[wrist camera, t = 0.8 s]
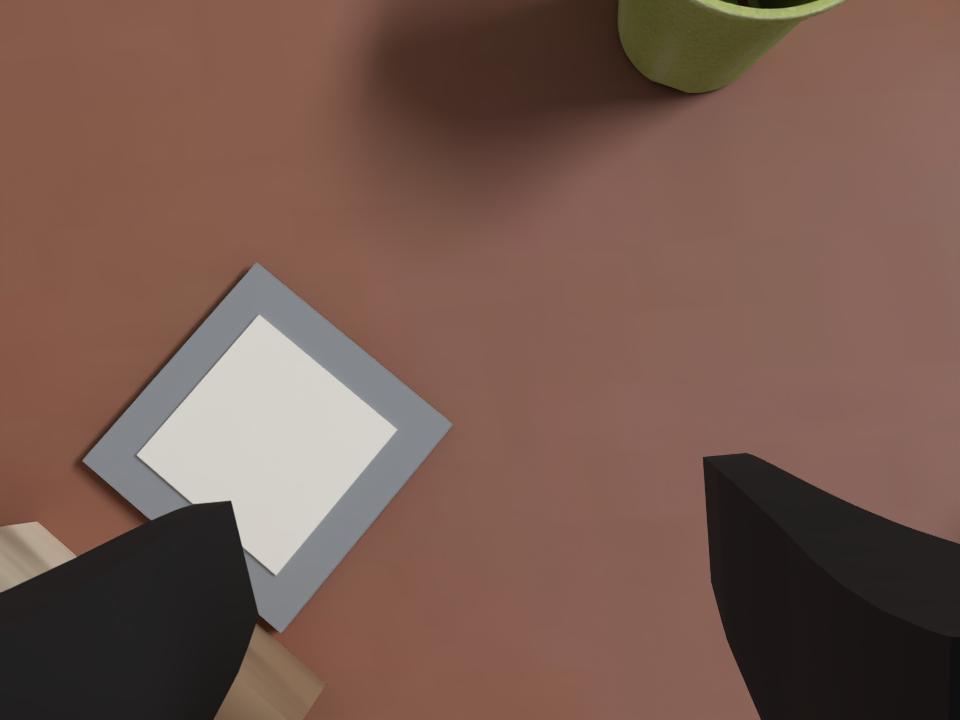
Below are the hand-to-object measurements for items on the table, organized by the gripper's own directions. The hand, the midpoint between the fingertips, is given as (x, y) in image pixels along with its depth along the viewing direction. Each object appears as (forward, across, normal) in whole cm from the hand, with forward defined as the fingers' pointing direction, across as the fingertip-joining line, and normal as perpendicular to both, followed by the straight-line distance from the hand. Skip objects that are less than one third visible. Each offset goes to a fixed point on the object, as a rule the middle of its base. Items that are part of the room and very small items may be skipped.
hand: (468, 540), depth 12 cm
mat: (+17, +10, +4) cm, 20 cm away
